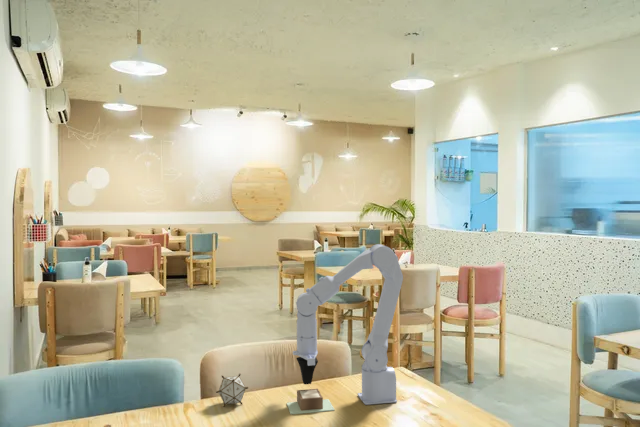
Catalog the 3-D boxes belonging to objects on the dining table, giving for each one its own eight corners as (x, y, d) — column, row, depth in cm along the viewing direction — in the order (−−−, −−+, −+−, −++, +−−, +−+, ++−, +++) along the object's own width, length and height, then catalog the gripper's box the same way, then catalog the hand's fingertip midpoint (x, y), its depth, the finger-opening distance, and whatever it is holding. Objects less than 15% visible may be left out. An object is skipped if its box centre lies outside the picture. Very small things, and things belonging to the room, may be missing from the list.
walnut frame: (317, 388, 142) (322, 397, 135) (317, 399, 142) (322, 408, 135) (296, 390, 141) (300, 399, 134) (297, 400, 141) (300, 410, 134)
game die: (236, 419, 138) (239, 398, 132) (209, 406, 140) (211, 385, 134) (251, 394, 145) (254, 373, 140) (225, 382, 147) (227, 361, 141)
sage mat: (328, 400, 142) (328, 399, 142) (334, 410, 135) (334, 409, 135) (286, 403, 140) (286, 402, 140) (290, 414, 132) (290, 413, 132)
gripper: (289, 330, 148) (289, 376, 148) (296, 343, 134) (297, 393, 134) (312, 329, 149) (313, 374, 150) (322, 341, 135) (322, 391, 135)
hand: (307, 383), depth 142 cm, fingers closed
